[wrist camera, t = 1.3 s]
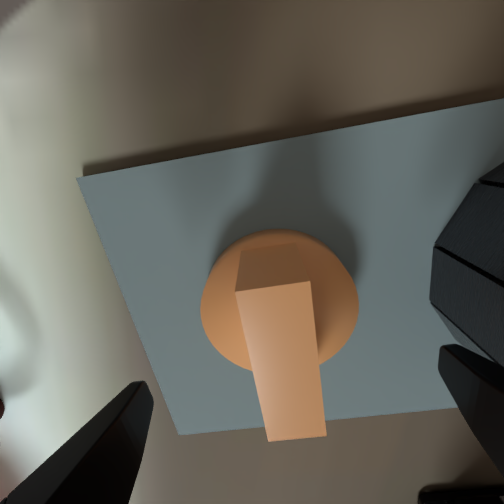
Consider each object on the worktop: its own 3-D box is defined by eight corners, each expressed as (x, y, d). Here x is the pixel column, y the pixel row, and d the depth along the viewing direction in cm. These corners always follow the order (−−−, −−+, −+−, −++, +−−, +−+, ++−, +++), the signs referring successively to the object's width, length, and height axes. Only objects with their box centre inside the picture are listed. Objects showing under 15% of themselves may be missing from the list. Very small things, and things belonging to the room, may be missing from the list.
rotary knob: (350, 342, 13) (392, 433, 9) (222, 358, 14) (207, 451, 10) (343, 216, 11) (397, 261, 7) (191, 241, 11) (153, 296, 7)
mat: (634, 382, 14) (644, 388, 14) (180, 428, 16) (178, 435, 16) (790, 44, 9) (813, 40, 9) (82, 176, 11) (76, 177, 11)
